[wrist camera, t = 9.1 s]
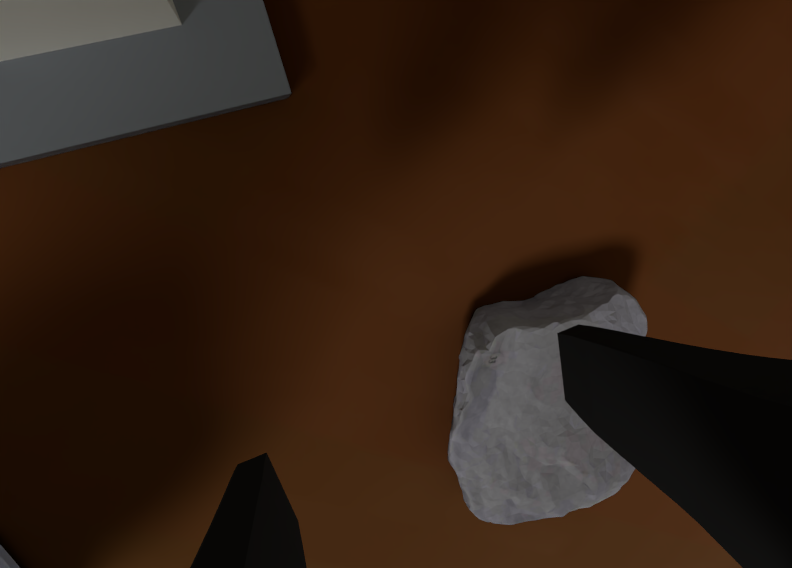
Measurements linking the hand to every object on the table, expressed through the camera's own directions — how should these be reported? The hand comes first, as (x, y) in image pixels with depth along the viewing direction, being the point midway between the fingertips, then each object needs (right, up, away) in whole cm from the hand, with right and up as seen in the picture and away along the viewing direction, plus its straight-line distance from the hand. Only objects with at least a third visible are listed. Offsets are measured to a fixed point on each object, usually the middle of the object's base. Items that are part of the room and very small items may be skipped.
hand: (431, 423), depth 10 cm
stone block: (+6, -2, +14) cm, 15 cm away
